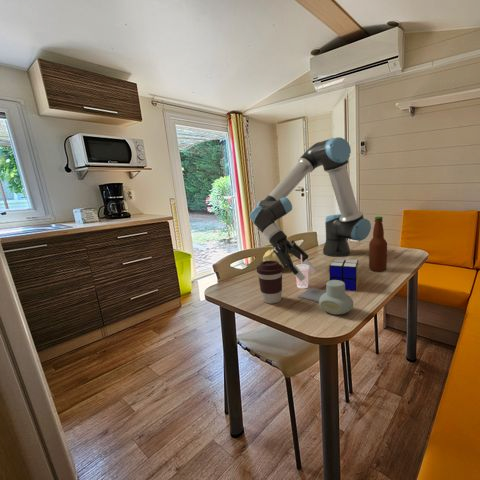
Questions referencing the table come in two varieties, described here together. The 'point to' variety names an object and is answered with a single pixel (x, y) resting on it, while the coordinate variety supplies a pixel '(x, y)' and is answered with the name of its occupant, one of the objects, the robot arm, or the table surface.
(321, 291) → the slate coaster
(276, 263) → the coffee cup
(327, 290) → the air freshener
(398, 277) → the table surface
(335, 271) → the puzzle cube
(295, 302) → the table surface
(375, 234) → the bottle
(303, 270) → the beverage cup
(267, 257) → the sculpture
